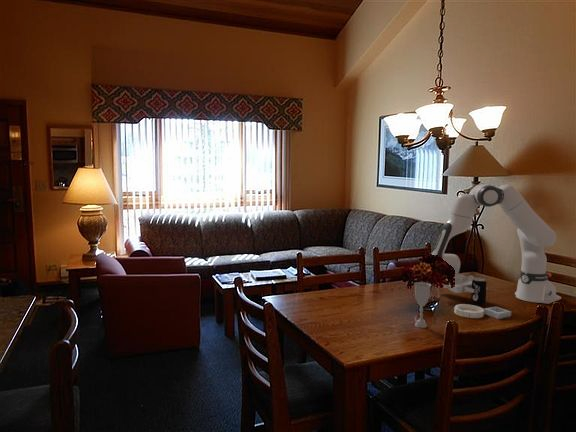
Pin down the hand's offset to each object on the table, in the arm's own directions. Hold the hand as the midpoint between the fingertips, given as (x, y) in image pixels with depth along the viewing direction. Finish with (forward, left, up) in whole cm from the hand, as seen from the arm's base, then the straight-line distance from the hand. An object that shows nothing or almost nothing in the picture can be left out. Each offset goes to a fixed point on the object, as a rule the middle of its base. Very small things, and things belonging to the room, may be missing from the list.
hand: (480, 289), depth 213 cm
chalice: (+43, +8, -9) cm, 45 cm away
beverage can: (0, -1, -7) cm, 7 cm away
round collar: (+12, +5, -9) cm, 16 cm away
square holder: (+2, +12, -9) cm, 15 cm away
